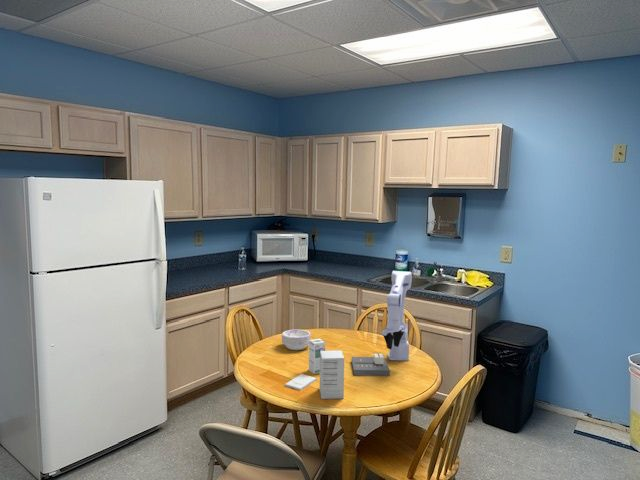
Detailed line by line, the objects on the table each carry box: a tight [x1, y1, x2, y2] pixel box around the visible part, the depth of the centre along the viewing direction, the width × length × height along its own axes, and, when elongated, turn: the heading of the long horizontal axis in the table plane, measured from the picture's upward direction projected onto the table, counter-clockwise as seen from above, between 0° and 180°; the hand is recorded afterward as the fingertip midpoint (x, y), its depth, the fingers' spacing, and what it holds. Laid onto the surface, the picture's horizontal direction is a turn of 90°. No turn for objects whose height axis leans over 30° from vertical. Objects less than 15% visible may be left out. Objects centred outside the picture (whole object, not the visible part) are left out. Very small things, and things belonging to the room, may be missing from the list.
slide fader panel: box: [351, 356, 391, 376], centre depth 208 cm, size 16×16×3 cm
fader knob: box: [373, 353, 385, 364], centre depth 208 cm, size 4×5×4 cm
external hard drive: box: [284, 373, 317, 391], centre depth 191 cm, size 2×8×12 cm
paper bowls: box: [281, 328, 312, 351], centre depth 234 cm, size 15×15×8 cm
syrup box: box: [308, 338, 326, 375], centre depth 203 cm, size 6×6×14 cm
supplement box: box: [319, 350, 345, 400], centre depth 180 cm, size 10×9×17 cm
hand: (392, 347), depth 207 cm, fingers open, 5 cm apart
